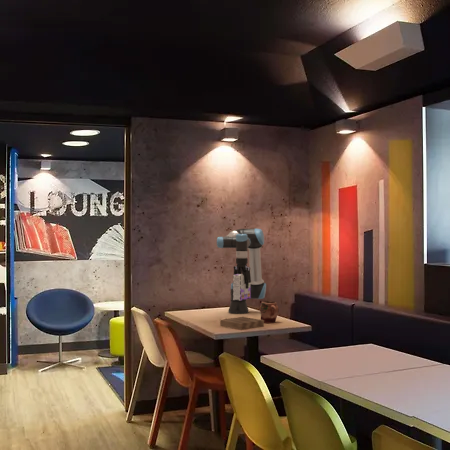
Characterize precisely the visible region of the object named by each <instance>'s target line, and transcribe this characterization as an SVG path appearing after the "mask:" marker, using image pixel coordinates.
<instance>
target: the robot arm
mask: <svg viewBox="0 0 450 450" xmlns="http://www.w3.org/2000/svg"><path fill="white" fill-rule="evenodd" d="M263 245H265V235H264V231H263V230H262V229H261V228H256V227H255V228H238V229H235V230H231V231H230V232H229V233H228V234H227V235H225V236H218V237H217V238H216V246H217V248H218V249H235V257H236V258H235V264H236V265H234V266H233V275H236V274H243V275H244V281H245V283H244V294H248V284H249V283H251V298H250V300H251V299H252V300H253V299H254V300H261V299H265V297H266V292H267V283H266V282H265V280H264V279H263V278H262V275H263V274H262V257H261V248H263ZM248 260H249V261H248ZM248 263H249V266H248V265H247V264H248ZM246 281H247V282H246ZM229 303H230V304H229V307H228V312H227V313H229V314H234V315H236V314H239V315H242V314H243V315H244V314H248V313H249V310H250V309H249V307H248V303H247V299H245V300H241V301H238V300H233V282H231V284H230V302H229Z"/></svg>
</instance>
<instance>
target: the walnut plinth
mask: <svg viewBox="0 0 450 450" xmlns="http://www.w3.org/2000/svg"><path fill="white" fill-rule="evenodd" d="M219 321H220V322H219V323H220V325H219V326H220V327H222V328H224V327H225V328H230V329H234V330H240V331H242V330H243V331H244V330H248V329H256V328H262V327H265V323H264V320H261V318H260V319H259V318H254V317H253V318H252V317H248V316H247V317H246V316H240V317H232V318H225V319H220V320H219Z"/></svg>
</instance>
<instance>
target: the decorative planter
mask: <svg viewBox="0 0 450 450" xmlns="http://www.w3.org/2000/svg"><path fill="white" fill-rule="evenodd" d="M258 310H259V312H260V320H264V324H272V323H275V322H276V320H277V318H278V314H279V311H280V309H279V306H278V303H277V301H275V300H272V301H271V300H270V301H269V300H264V301H261V304H260V306H259V309H258Z"/></svg>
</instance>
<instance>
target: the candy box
mask: <svg viewBox="0 0 450 450" xmlns="http://www.w3.org/2000/svg"><path fill="white" fill-rule="evenodd" d="M246 282H247V281H246ZM232 283H233V300H238V301H241V300H245V299H246V300H249V299H250V298H251V283H249V284H248V294H244V283H245V281H244V275H243V274H242V273H241V274H236V275H234V274H232ZM250 300H251V299H250Z"/></svg>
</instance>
